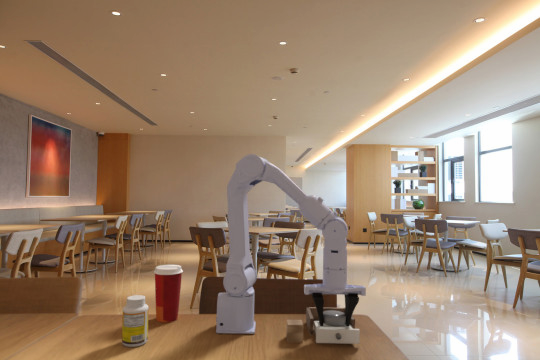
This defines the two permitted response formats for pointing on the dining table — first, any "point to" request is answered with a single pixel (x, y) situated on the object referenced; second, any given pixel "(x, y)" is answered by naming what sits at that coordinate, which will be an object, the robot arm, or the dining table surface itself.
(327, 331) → the white drawer
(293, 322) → the wooden block
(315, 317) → the open square box
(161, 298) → the paper cup
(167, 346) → the dining table surface
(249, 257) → the robot arm
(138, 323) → the supplement bottle
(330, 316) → the grey dome
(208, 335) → the dining table surface
